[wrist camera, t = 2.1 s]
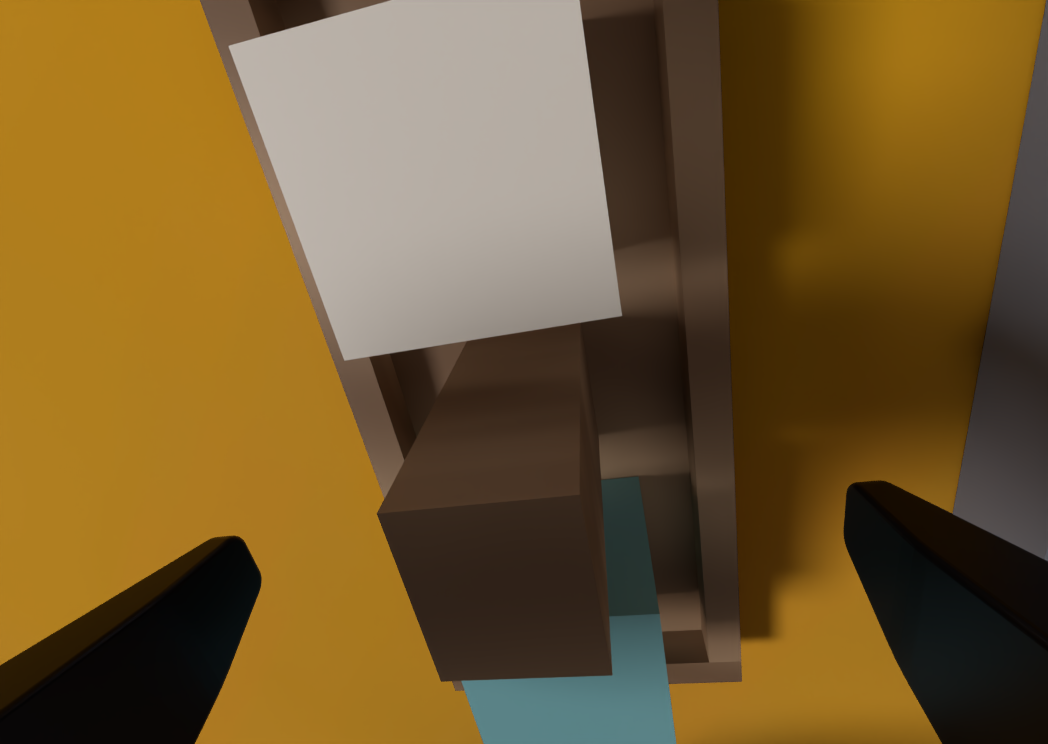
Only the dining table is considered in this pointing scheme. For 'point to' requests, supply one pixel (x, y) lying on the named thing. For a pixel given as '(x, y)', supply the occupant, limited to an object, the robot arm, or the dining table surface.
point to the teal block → (636, 648)
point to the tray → (1016, 355)
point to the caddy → (568, 388)
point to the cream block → (439, 168)
